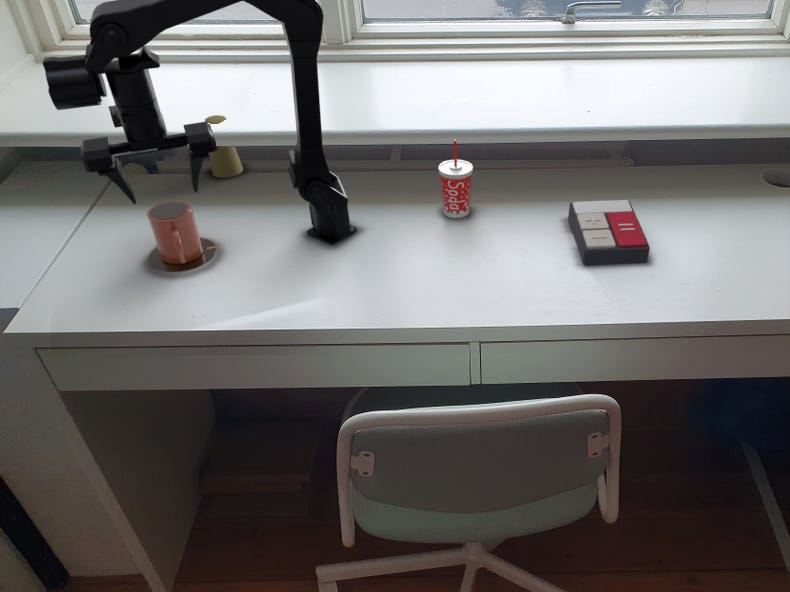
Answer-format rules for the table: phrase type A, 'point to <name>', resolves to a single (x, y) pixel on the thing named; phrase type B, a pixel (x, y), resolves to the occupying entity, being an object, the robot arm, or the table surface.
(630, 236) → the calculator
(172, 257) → the mug
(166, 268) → the coaster
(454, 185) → the beverage cup
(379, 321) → the table surface
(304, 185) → the robot arm
